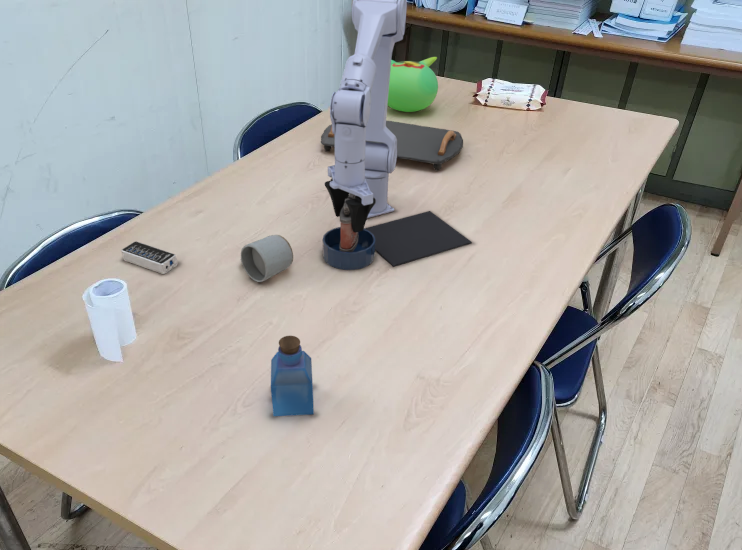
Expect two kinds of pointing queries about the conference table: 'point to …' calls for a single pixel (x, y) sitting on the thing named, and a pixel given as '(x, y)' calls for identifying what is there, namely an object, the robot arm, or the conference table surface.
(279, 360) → the perfume bottle
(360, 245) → the blue round dish
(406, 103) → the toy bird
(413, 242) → the desk mat
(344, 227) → the lighter
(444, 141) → the serving tray
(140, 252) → the multiport hub
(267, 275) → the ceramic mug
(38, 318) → the conference table surface
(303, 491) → the conference table surface
